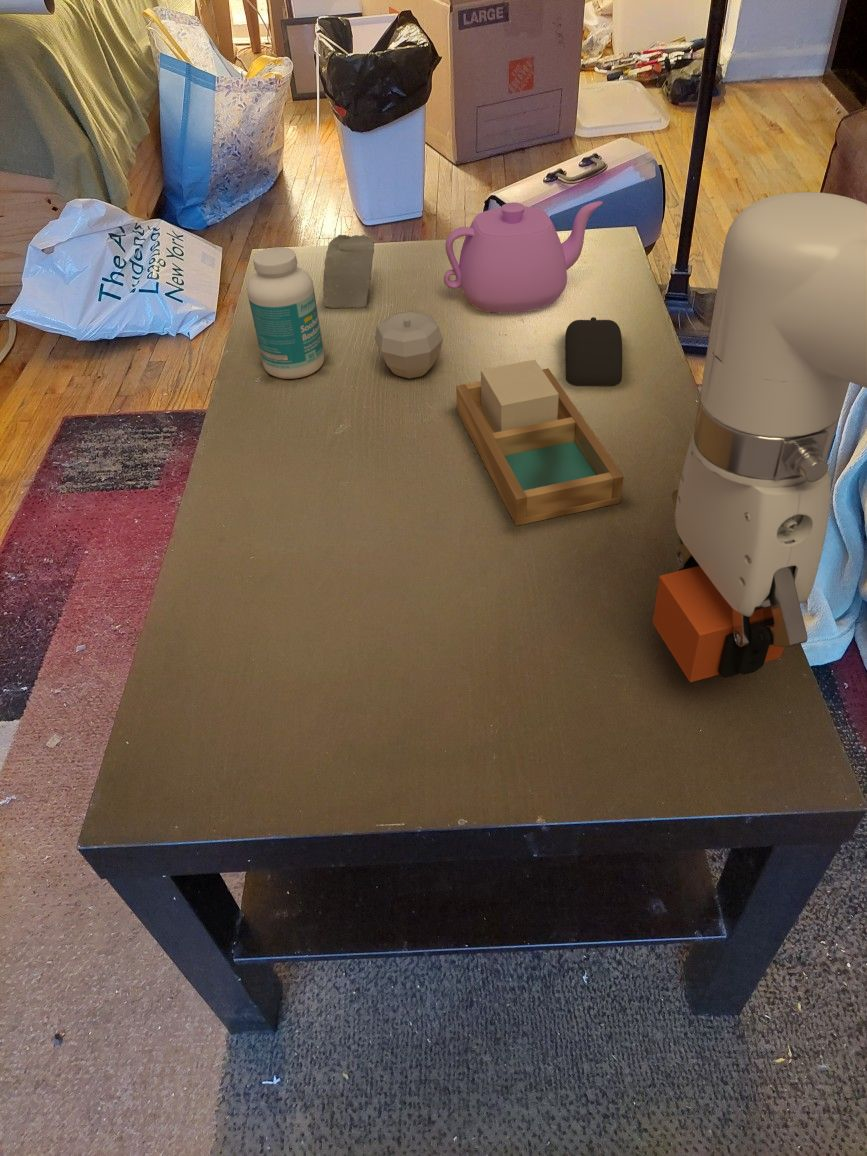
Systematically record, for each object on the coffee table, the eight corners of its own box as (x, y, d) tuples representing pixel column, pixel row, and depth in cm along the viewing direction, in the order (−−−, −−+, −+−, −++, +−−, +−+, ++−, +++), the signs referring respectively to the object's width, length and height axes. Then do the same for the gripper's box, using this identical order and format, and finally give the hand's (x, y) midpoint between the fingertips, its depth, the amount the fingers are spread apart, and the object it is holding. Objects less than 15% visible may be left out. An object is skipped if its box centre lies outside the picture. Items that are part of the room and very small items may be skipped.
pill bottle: (321, 380, 98) (303, 269, 89) (259, 383, 99) (234, 272, 89) (328, 348, 104) (311, 239, 94) (269, 350, 104) (246, 242, 94)
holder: (547, 393, 94) (548, 367, 91) (620, 503, 80) (624, 476, 78) (457, 411, 92) (455, 385, 90) (515, 526, 78) (516, 499, 76)
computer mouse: (617, 335, 102) (620, 304, 99) (622, 386, 94) (626, 354, 91) (564, 335, 103) (566, 304, 100) (565, 385, 95) (567, 354, 92)
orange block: (737, 600, 64) (749, 552, 60) (781, 658, 59) (796, 609, 56) (652, 623, 63) (659, 575, 59) (689, 683, 59) (699, 635, 55)
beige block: (533, 399, 92) (535, 359, 88) (556, 435, 87) (559, 393, 83) (481, 410, 91) (480, 369, 87) (501, 446, 86) (501, 405, 82)
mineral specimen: (391, 300, 110) (372, 243, 104) (329, 319, 111) (306, 263, 105) (389, 273, 115) (370, 217, 109) (329, 291, 116) (308, 237, 110)
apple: (364, 369, 100) (357, 318, 95) (416, 346, 103) (412, 295, 98) (405, 397, 95) (400, 344, 90) (458, 371, 98) (456, 319, 94)
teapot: (451, 328, 105) (448, 235, 97) (438, 281, 115) (434, 192, 106) (608, 311, 106) (617, 218, 98) (582, 265, 116) (589, 176, 107)
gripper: (920, 502, 43) (832, 715, 55) (745, 345, 55) (705, 548, 67) (786, 536, 42) (728, 744, 54) (638, 368, 54) (618, 570, 66)
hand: (716, 634), depth 61 cm, fingers closed on orange block, 6 cm apart
